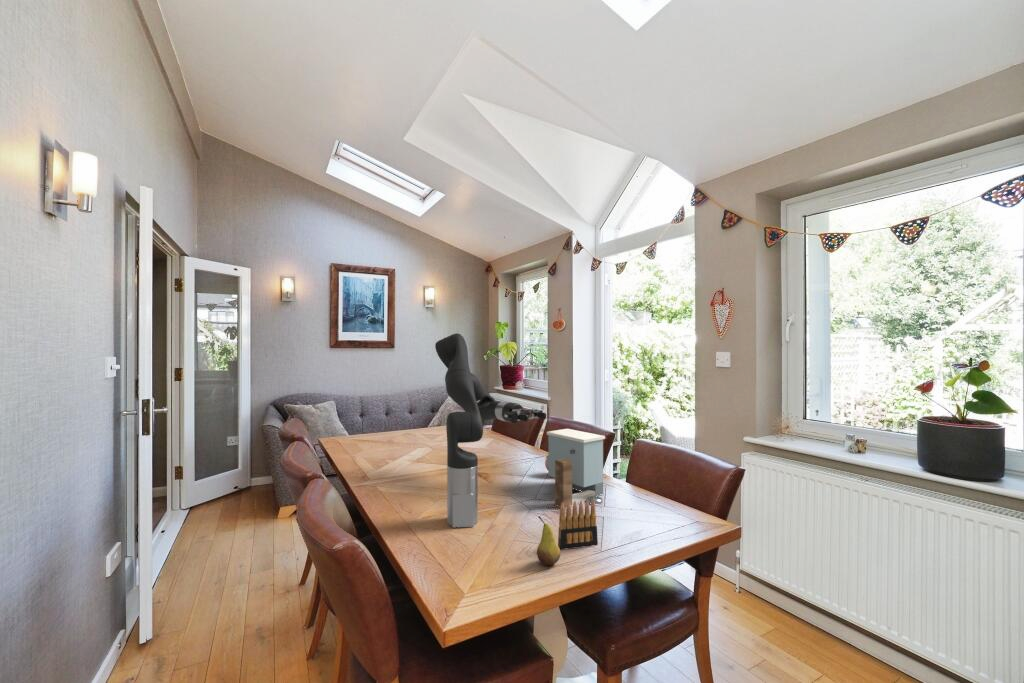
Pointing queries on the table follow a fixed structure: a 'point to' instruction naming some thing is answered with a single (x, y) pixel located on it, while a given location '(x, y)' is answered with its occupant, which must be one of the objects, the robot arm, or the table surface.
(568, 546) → the ammunition clip
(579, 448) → the cabinet
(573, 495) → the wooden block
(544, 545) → the fruit
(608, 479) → the table surface
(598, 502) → the steel puck
